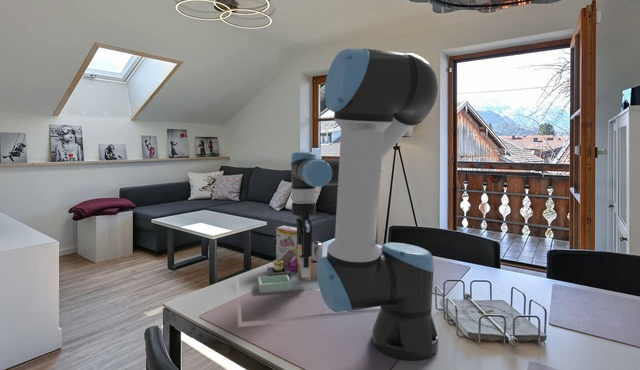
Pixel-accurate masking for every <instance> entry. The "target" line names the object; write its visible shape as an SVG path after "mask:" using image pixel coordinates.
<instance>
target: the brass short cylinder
mask: <svg viewBox="0 0 640 370" xmlns="http://www.w3.org/2000/svg"><path fill="white" fill-rule="evenodd" d="M283 263H284V260H276V259H274V260H273V261H272V264H273V267H274V272H283Z"/></svg>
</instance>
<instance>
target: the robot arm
mask: <svg viewBox="0 0 640 370" xmlns="http://www.w3.org/2000/svg"><path fill="white" fill-rule="evenodd" d="M326 75H327V76H326V78H325V86H324V98H325V100H324V101H325V103H324V104H325V105H326V107H327V109H328V110H329V111H331V112H333V113H334V114H333V120H334V122H335V123H336V124H337V125H338V127H339V128H340V141H339V142H340V143H339V158H329V159H328V158H327V159H325V158H322V159H321V158H320V159H319V158H316V154H315V153H314V152H311V151H310V152H303V151H301V152H298V151H297V152H293V153H292V154H291V162H290V165H291V166H290V167H291V193H290V194H291V201H292V202H291V214H292V215H294V216H298V217H297V218H296V220H295V222H296V228H297V249H298V244H299V243H301V246H302V256H300V258H301V278H305V277H310V258H311V256H312V242H313V241H312V240H313V239H312V238H313V237H312V234H313V226H312V220H310V216H313V215H316V213H317V209H316V208H317V206H316V205H317V204H316V202H315V201H316V195H317V194H318V190H316V189H317V187H318V188H319V187H325V186H337V195H336V196H337V199H336V212H335V213H336V214H335V229H334V230H335V232H334V233H335V235H334V240H333V241H332V242H330V243H329V244H328V245H327V252H326V256H322V257H323V258H321V259H319V260H318V263H317V278H318V283H319V287H320V288H319V291H320V294H321V297H322V299H323V301H324V303H325V305H326V306H327V308H328V309H329V310H330V311H332V312H333V313H341V312H343V313H344V312H348V313H350V312H352V311H358V310H364V309H370V308H376V307H377V308H378V307H380V308H379V310H378V314H377V317H376V319H375V322H374V324H373V327H372V331H371V335H372V337H371V339H372V340H371V341H372V344H373V346H374V347H375V348H376V349H377V350H379V352H381V353H383V354H385V355H387V356H390V357H392V358H394V359H399V360H406V361H419V360H418V359H420V360H425V359H428V358H430V357H433V356H434V355H435V354H436V353H437V351H438V348H439V336H438V331H437V328H436V324H435V322H434V317H433V314H432V308H433V307H432V306H433V286H434V283H433V282H434V273H435V269H434V267H435V266H434V257H433V255H432V253H431V252H430V251H429V250H427V249H425V248H423V247H421V246H417V245H413V244H407V243H404V242H403V243H402V242H385V243H384V244H382V246H381V248H380V247H379V246H378V244H376V238H377V237H376V236H377V227H378V226H377V225H378V224H377V223H378V213H379V212H378V211H379V199H380V188H381V187H380V186H381V177H382V176H381V174H382V173H381V172H382V161H383V159H384V158H385V157H386V156H387V155H388V153H389V152H390V151H391V150H392V149H393V148H394V146H395V145H396V144H397V143H398V142H399V141H400V140H401V139H402V137H403V136H404V135H405V134H406V133H407V132H408V131H409V130H410V128H411V127H415V126H418V125H420V124H421V123H422V122H423V121H424V120H425V119H426V118H427V116H428V115H429V114H430V112H431V111H432V109H433V108H434V106H435V103H436V101H437V97H438V90H439V85H438V79H437V75H436V73H435V71H434V69H433V67H432V66H431V64H430V63H429V62H428V61H427V60H426V59H424V58H423V57H421V56H419V55H417V54H415V53H410V52H396V51H388V50H378V49H372V48H371V49H370V48H364V47H363V48H346V49H342V50H341V51H340V52H338V53H337V54H336V55H335V57H334V58H333V61H332V63H330V66H329V69H328V71H327V74H326Z"/></svg>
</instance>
